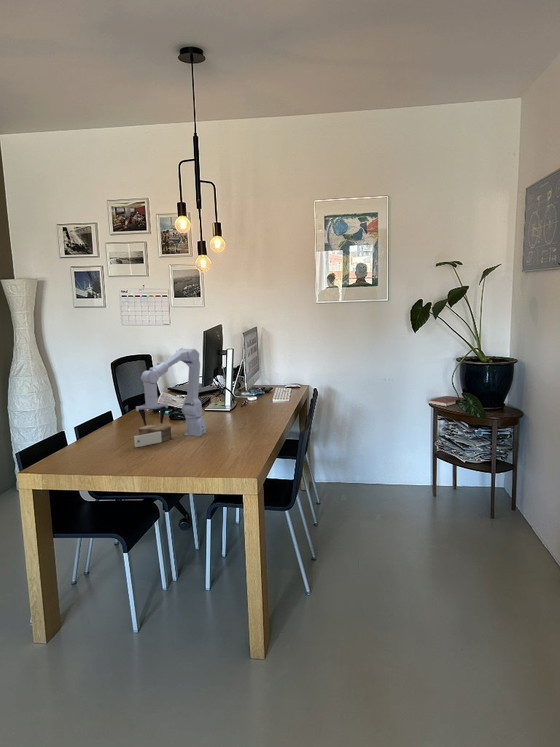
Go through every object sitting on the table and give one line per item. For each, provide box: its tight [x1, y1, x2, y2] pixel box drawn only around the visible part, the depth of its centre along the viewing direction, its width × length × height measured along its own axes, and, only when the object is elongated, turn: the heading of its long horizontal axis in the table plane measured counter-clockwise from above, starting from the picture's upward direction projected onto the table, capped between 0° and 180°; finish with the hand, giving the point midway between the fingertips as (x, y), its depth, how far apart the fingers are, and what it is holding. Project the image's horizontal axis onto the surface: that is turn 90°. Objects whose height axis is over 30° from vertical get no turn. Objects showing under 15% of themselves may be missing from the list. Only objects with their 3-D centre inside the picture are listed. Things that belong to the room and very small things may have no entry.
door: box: [133, 431, 163, 448], centre depth 250 cm, size 14×2×5 cm, turn 124°
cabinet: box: [137, 424, 172, 443], centre depth 260 cm, size 15×7×6 cm, turn 69°
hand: (153, 424), depth 248 cm, fingers open, 7 cm apart
